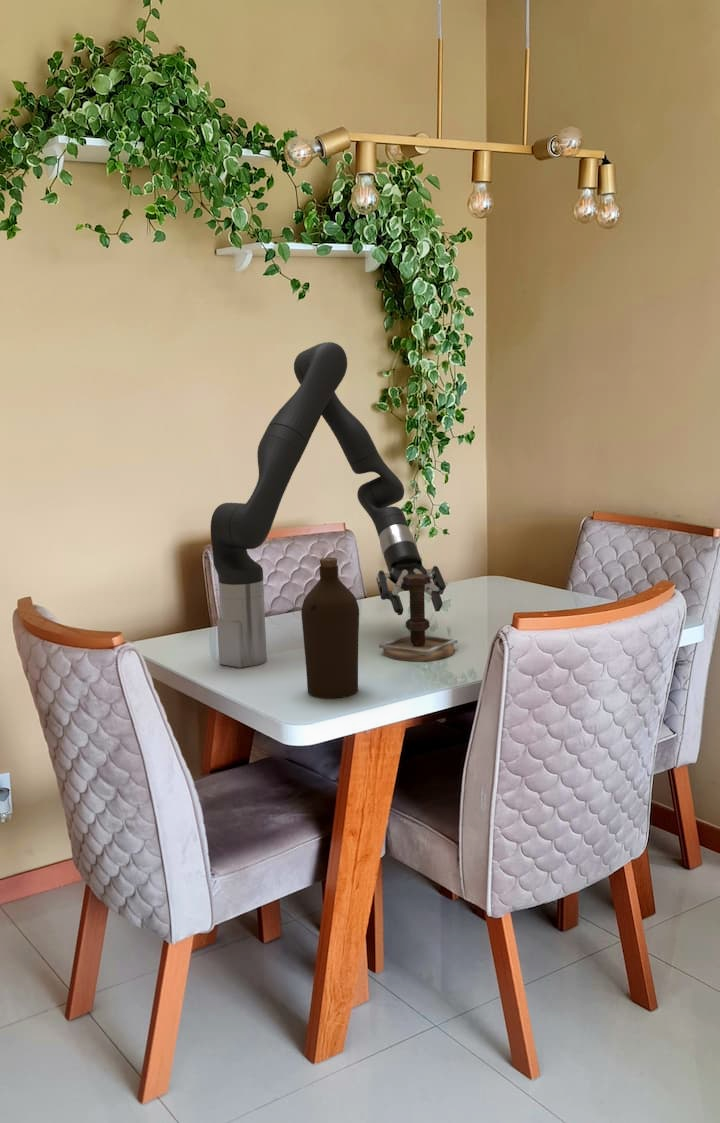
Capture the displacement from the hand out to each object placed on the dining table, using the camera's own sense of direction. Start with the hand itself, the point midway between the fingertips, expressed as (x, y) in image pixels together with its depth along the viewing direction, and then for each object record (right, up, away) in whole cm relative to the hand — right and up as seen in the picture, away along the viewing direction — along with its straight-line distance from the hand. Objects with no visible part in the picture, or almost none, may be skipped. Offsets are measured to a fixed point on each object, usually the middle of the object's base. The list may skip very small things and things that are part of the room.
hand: (420, 611), depth 208 cm
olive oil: (-18, -14, -24) cm, 33 cm away
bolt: (0, -8, +3) cm, 8 cm away
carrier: (0, -9, +3) cm, 9 cm away
